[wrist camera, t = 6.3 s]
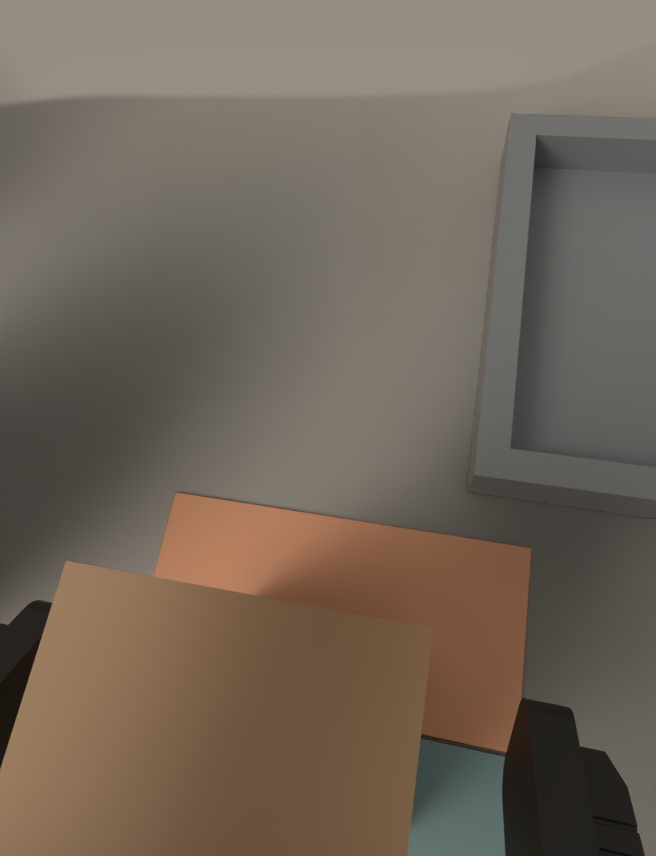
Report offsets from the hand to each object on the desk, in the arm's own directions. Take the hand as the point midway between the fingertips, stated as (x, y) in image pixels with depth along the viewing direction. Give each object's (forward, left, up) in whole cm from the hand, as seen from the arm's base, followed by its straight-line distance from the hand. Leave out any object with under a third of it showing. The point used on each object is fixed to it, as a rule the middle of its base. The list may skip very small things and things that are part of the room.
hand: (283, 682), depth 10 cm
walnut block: (0, -1, -5) cm, 5 cm away
